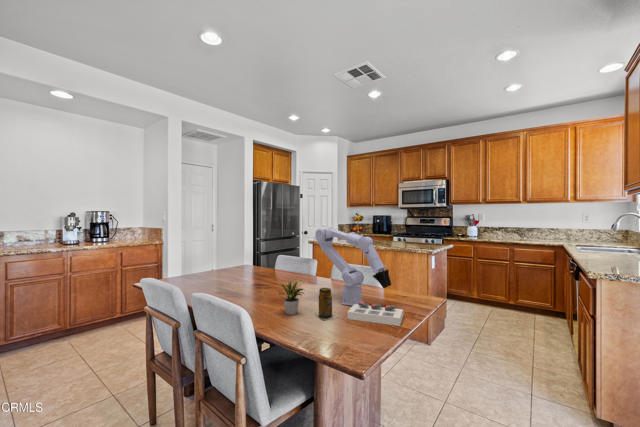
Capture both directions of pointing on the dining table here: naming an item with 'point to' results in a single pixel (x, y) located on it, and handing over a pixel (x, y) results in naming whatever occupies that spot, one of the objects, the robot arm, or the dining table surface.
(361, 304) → the rocker left
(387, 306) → the rocker right
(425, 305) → the dining table surface
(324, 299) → the condiment
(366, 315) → the power strip
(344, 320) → the dining table surface
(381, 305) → the rocker middle
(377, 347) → the dining table surface
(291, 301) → the house plant
